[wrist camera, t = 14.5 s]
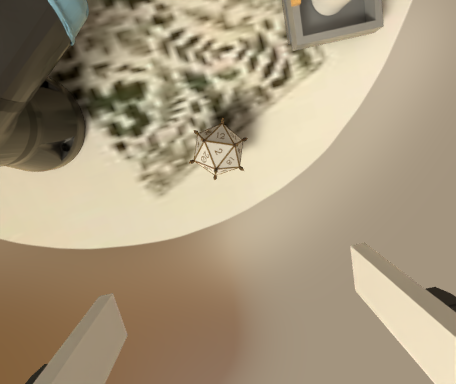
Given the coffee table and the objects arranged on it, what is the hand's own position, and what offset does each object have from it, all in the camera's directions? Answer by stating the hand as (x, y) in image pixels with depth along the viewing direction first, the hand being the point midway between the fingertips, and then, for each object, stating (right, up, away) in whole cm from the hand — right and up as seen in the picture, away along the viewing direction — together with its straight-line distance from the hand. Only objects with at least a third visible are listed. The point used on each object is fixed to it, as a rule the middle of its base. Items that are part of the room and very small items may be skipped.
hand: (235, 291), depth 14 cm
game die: (-2, +13, +30) cm, 33 cm away
